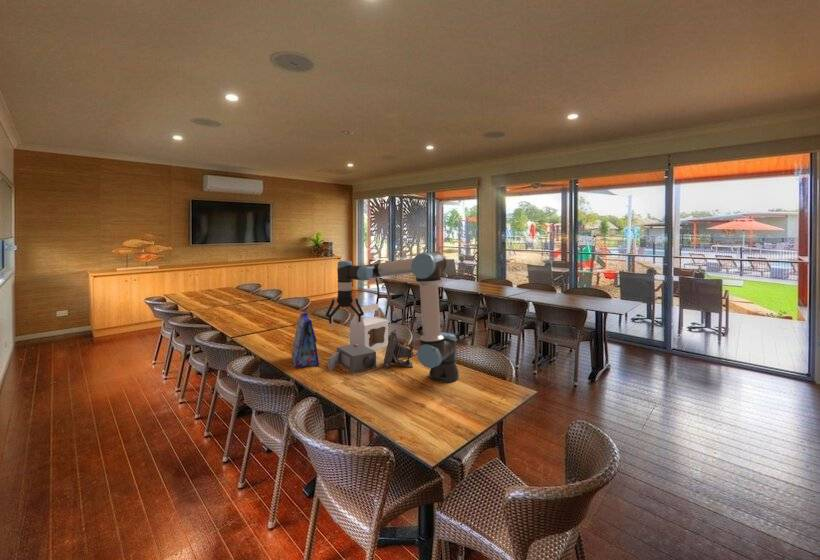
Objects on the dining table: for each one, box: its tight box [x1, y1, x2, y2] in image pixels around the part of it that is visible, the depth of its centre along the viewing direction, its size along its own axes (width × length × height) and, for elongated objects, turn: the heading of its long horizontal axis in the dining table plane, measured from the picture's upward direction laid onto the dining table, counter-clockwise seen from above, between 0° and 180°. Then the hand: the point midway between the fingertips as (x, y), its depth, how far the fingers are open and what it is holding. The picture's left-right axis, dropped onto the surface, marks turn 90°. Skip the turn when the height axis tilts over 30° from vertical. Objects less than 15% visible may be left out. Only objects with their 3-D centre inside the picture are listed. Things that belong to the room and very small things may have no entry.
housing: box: [336, 343, 377, 373], centre depth 215 cm, size 22×14×10 cm, turn 35°
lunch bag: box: [291, 311, 320, 369], centre depth 220 cm, size 22×14×29 cm, turn 22°
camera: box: [383, 329, 414, 369], centre depth 216 cm, size 11×17×20 cm, turn 90°
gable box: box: [349, 303, 389, 351], centre depth 248 cm, size 22×13×28 cm, turn 141°
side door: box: [327, 351, 341, 371], centre depth 210 cm, size 13×2×7 cm, turn 165°
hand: (345, 328), depth 209 cm, fingers open, 13 cm apart
